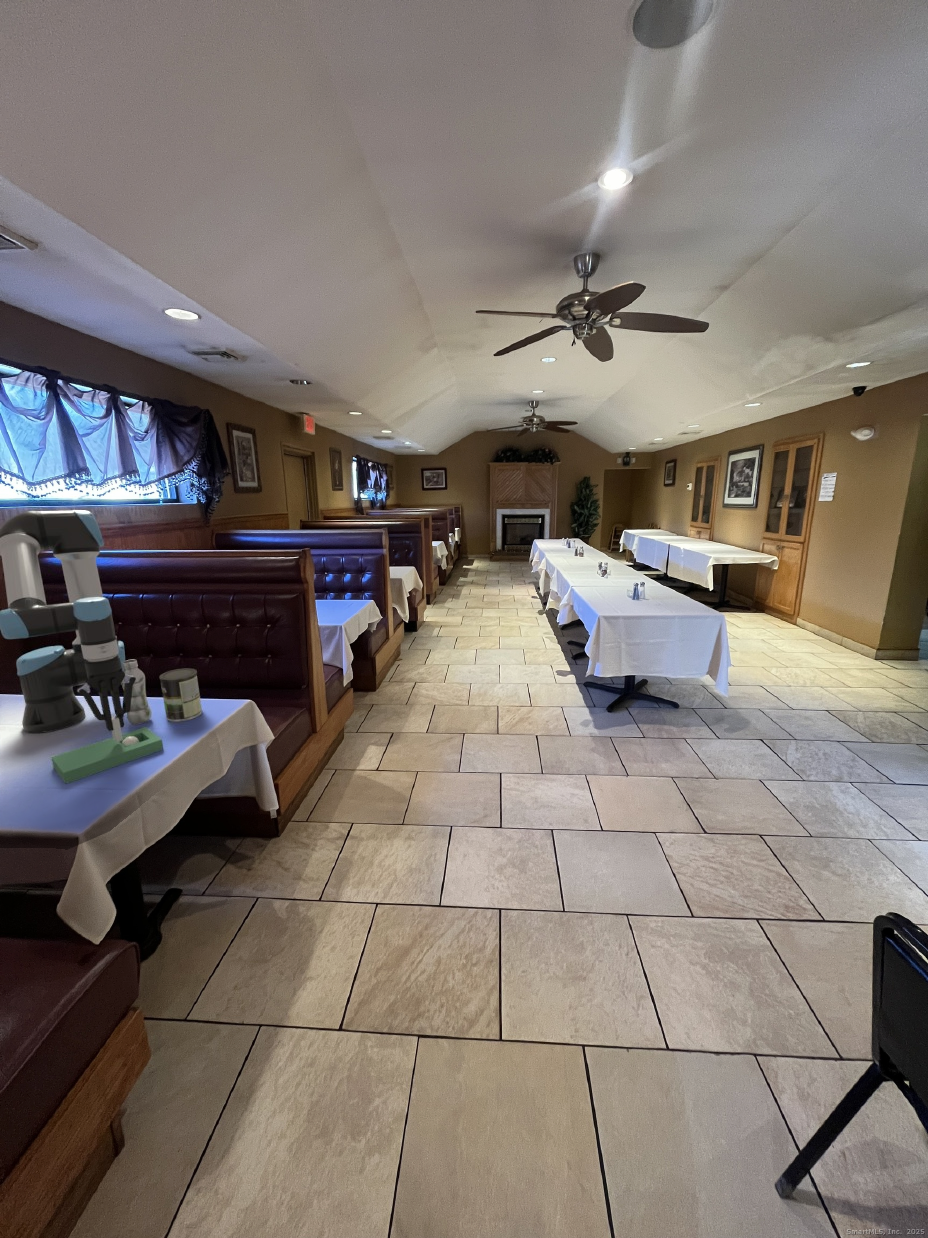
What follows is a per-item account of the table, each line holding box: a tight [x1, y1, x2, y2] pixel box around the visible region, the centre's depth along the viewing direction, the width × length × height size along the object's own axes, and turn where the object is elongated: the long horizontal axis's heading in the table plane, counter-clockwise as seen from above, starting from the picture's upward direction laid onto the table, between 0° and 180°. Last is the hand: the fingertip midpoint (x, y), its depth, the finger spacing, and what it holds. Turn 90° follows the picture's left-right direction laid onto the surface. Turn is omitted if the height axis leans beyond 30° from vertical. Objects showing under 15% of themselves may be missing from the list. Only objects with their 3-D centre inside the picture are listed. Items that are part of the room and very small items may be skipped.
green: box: [50, 726, 164, 785], centre depth 133 cm, size 12×22×3 cm, turn 140°
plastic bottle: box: [120, 659, 152, 725], centre depth 152 cm, size 6×7×20 cm
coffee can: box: [158, 667, 203, 723], centre depth 158 cm, size 10×10×14 cm
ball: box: [122, 736, 139, 747], centre depth 137 cm, size 4×4×4 cm
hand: (118, 739), depth 134 cm, fingers closed
